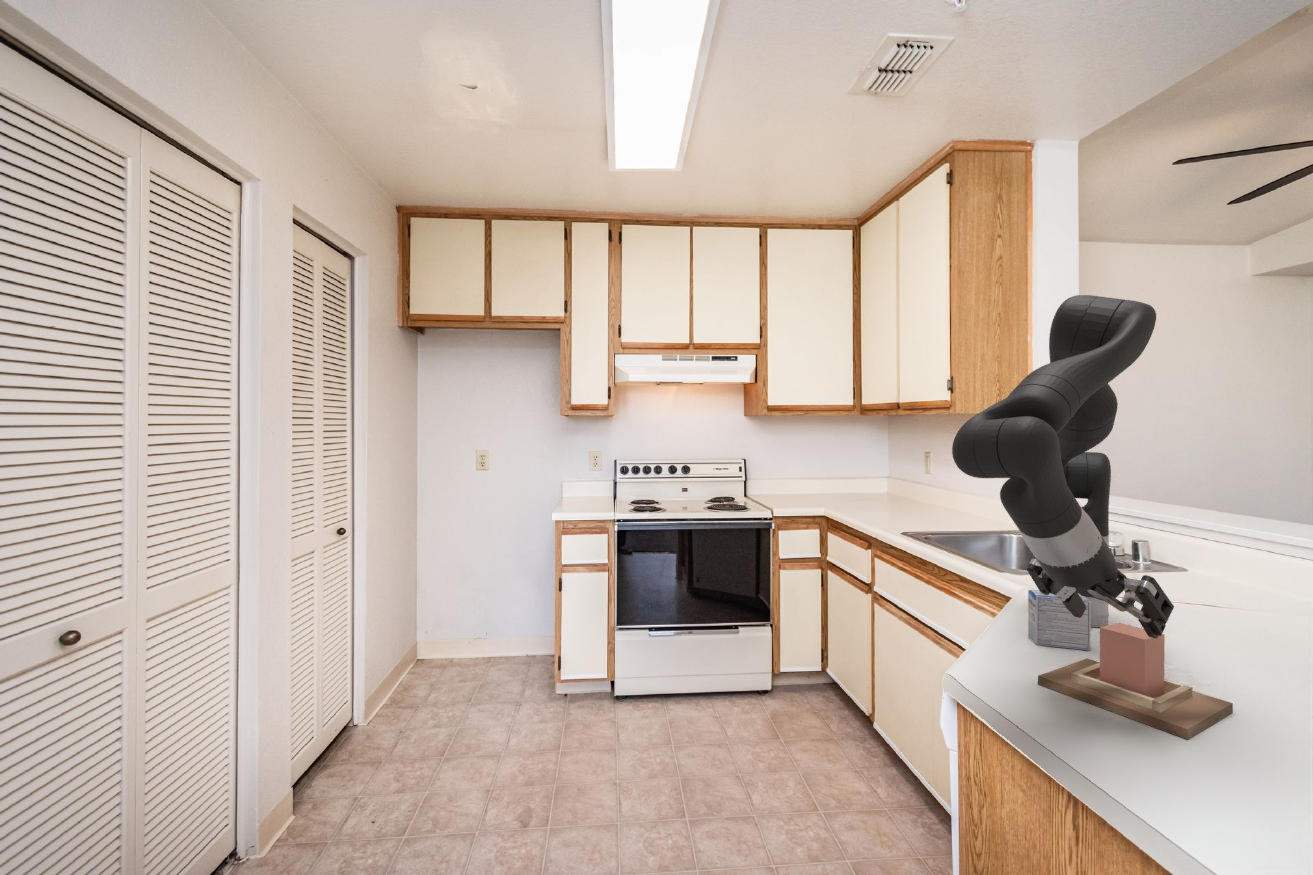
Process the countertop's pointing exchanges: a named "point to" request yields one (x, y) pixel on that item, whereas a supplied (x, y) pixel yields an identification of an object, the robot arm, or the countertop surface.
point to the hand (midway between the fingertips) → (1116, 621)
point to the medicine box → (1057, 622)
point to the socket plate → (1140, 700)
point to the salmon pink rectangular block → (1132, 659)
